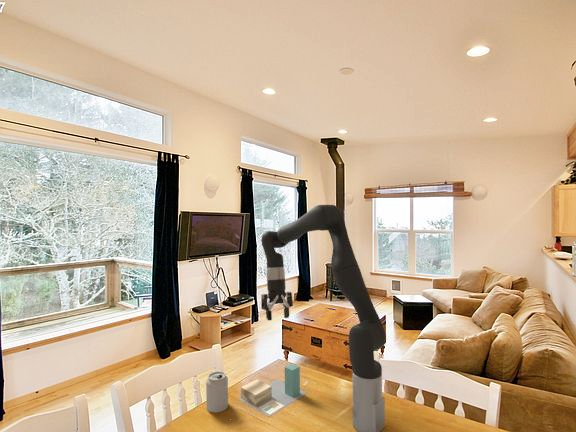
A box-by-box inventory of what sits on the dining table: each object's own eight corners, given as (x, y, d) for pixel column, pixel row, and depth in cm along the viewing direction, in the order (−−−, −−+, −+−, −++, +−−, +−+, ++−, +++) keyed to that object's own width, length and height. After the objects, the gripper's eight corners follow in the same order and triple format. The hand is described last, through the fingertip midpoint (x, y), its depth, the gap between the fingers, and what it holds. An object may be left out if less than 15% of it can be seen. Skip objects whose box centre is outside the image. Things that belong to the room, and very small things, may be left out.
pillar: (299, 393, 127) (299, 366, 127) (292, 397, 124) (292, 370, 124) (292, 389, 129) (291, 363, 129) (284, 393, 126) (284, 367, 126)
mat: (307, 394, 127) (307, 392, 127) (269, 419, 112) (269, 416, 112) (277, 380, 138) (277, 378, 138) (238, 401, 123) (238, 398, 123)
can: (225, 415, 115) (225, 380, 115) (204, 415, 115) (203, 380, 115) (230, 402, 122) (229, 369, 122) (209, 402, 122) (209, 369, 122)
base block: (271, 397, 124) (271, 386, 124) (255, 406, 118) (255, 395, 118) (257, 389, 130) (257, 379, 130) (241, 397, 124) (240, 387, 124)
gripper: (266, 279, 133) (269, 321, 130) (294, 277, 142) (297, 317, 138) (256, 280, 139) (258, 320, 136) (284, 278, 147) (286, 316, 144)
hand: (278, 319), depth 137 cm, fingers open, 8 cm apart
